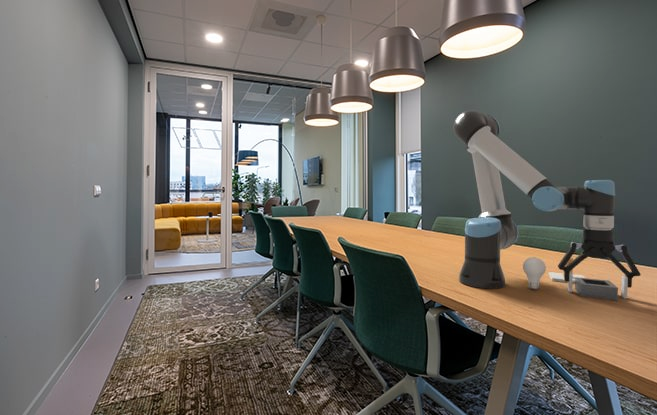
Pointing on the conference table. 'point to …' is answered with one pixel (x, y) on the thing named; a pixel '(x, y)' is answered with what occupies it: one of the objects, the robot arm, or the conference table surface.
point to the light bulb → (534, 271)
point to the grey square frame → (596, 288)
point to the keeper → (560, 276)
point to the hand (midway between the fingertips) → (596, 294)
